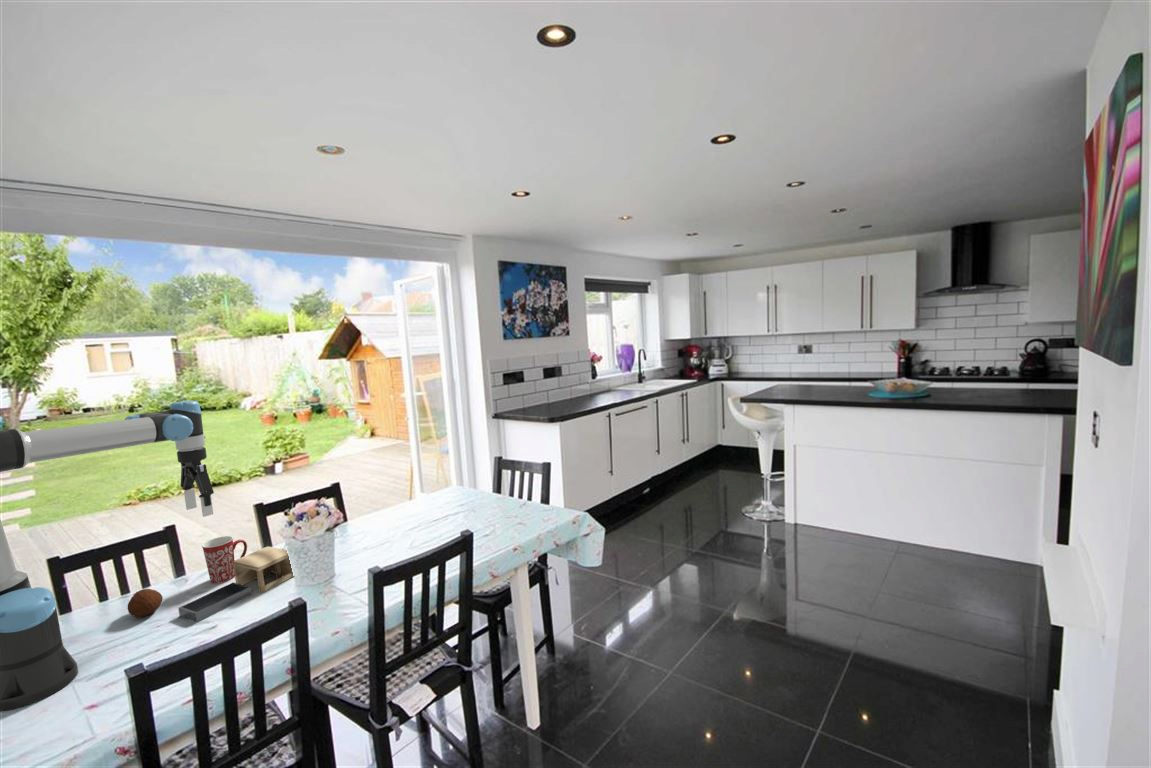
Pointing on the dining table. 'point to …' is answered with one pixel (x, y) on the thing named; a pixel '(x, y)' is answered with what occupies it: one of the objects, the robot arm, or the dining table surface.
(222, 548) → the mug
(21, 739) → the dining table surface
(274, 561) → the shelf
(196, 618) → the tray
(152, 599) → the potato
